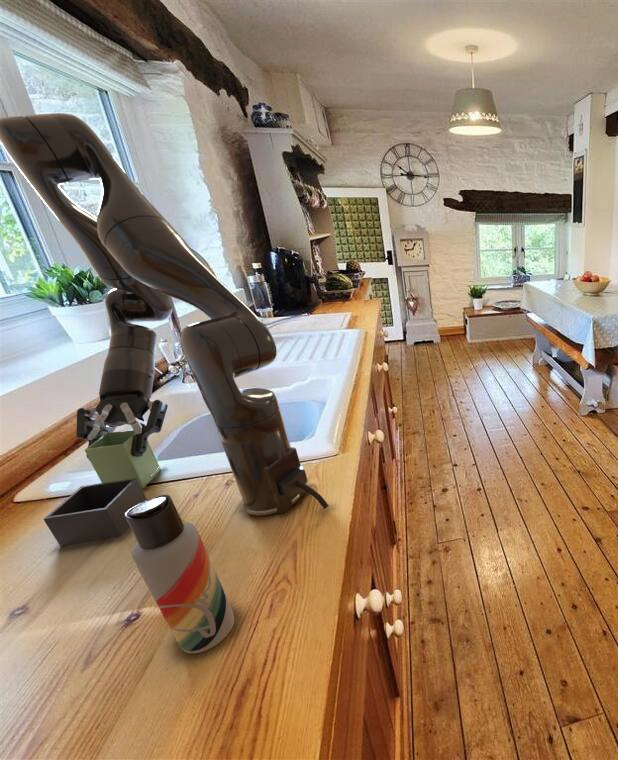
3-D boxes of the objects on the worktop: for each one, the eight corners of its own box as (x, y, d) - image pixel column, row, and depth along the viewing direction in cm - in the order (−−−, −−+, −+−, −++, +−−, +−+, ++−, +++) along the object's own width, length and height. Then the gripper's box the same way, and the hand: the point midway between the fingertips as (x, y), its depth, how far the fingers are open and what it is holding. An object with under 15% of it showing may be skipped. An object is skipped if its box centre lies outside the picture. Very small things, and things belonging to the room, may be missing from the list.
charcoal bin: (96, 513, 72) (81, 486, 69) (150, 505, 73) (136, 477, 71) (61, 549, 64) (43, 519, 62) (122, 538, 66) (106, 509, 63)
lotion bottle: (193, 664, 47) (123, 530, 39) (172, 639, 50) (102, 510, 42) (244, 624, 51) (190, 496, 43) (221, 603, 54) (167, 480, 46)
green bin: (127, 476, 82) (106, 432, 78) (161, 471, 83) (142, 428, 79) (108, 495, 76) (84, 449, 72) (144, 489, 78) (123, 444, 73)
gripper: (70, 372, 76) (51, 460, 70) (158, 363, 79) (147, 448, 73) (101, 386, 83) (86, 468, 77) (180, 378, 86) (172, 456, 80)
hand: (116, 458), depth 75 cm, fingers closed on green bin, 6 cm apart
